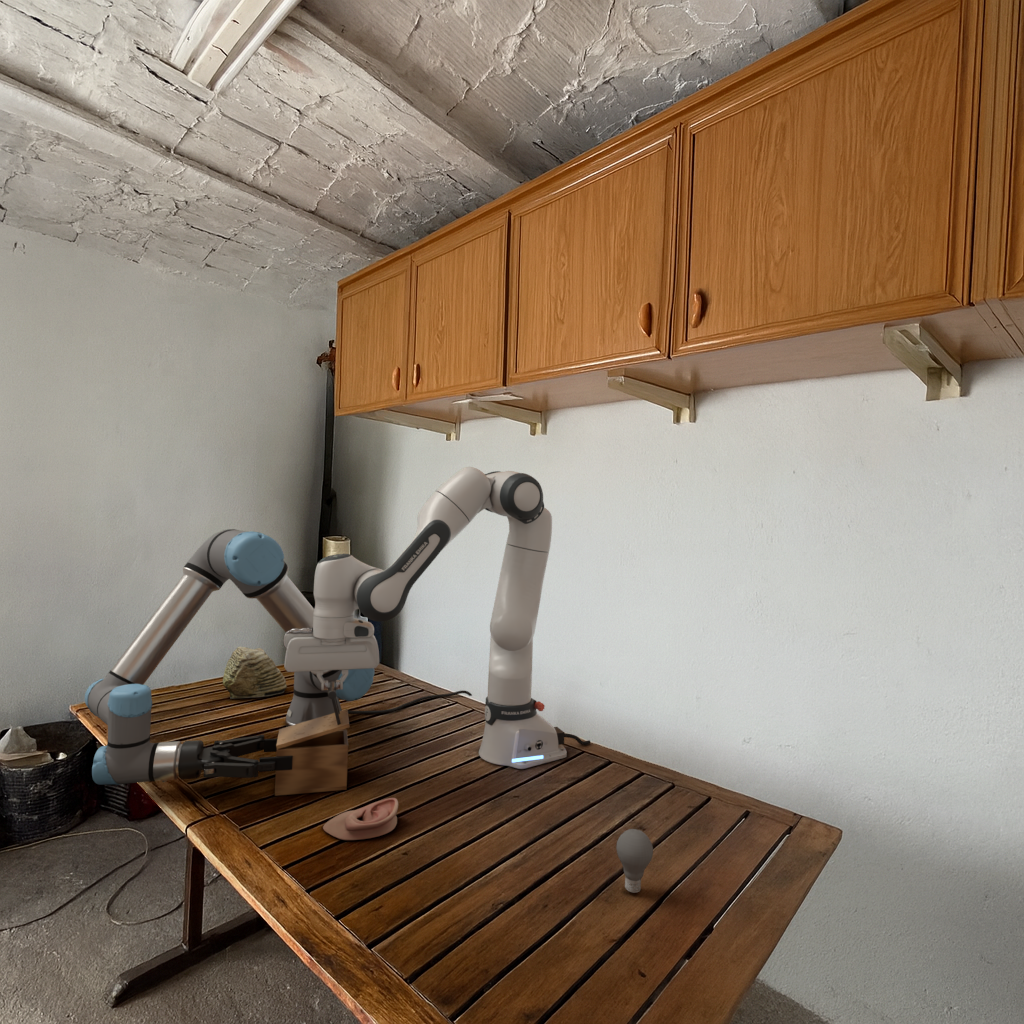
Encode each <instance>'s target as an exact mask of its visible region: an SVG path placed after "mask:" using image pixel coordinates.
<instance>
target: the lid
mask: <svg viewBox="0 0 1024 1024" xmlns="http://www.w3.org/2000/svg"><path fill="white" fill-rule="evenodd" d="M328 697H329V698H330V699H332V703H333V708H334V712H335V713H333V714H329V715H326V716H322V717H319V718H316V719H312V720H309V721H306V722H302V723H299V724H295V725H292V726H289V727H287V726H286V727H282V728H279V729H278V735H277V738H278V739H277V744H276V747H277V749H280V748H283V747H287V746H290V745H293V744H296V743H300V742H303V741H306V740H310V739H313V738H316V737H319V736H323V735H326V734H329V733H333V732H336V731H339V730H345V729H349V728H350V717H349V714H348V711H349V710H348V708H347V709H346V708H345V709H342V711H339V706H338V702H337V698H336V683H335V682H333V681H332V682H329V684H328Z"/></svg>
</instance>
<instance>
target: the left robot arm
mask: <svg viewBox="0 0 1024 1024" xmlns="http://www.w3.org/2000/svg"><path fill="white" fill-rule="evenodd" d="M182 572H183V574H182V576H181V577H180V579H178V581H177V583H176V584H175V585H174V587H173V588H172V589H171V590H170V592H169V593H168V594H167V596H166V597H165V598H164V600H163V601H162V602H161V603H160V605H159V606H158V607H157V609H156V610H155V611H154V613H153V614H152V615H151V616H150V618H149V619H148V620H147V622H146V623H145V624H144V626H143V627H142V628H141V630H140V631H139V632H138V633H137V635H136V636H135V637H134V639H133V640H132V641H131V643H130V644H129V645H128V647H127V648H126V649H125V651H124V652H123V653H122V654H121V655H120V657H119V659H118V660H117V661H116V663H115V664H114V665H113V666H112V668H111V669H110V670H109V671H108V673H107V674H106V675H105V676H104V677H103V678H100V679H98V680H95V681H94V682H92V683H91V684H90V685H89V686H88V688H87V689H86V691H85V694H84V703H85V706H86V707H87V709H88V710H89V711H90V713H91V714H93V716H95V717H97V718H98V719H100V720H101V721H102V722H103V723H104V724H105V725H106V726H107V743H106V745H102V746H100V747H99V748H98V749H97V750H96V751H95V754H94V757H93V759H92V760H93V761H92V762H93V763H92V767H91V776H92V780H93V782H94V783H95V784H97V785H101V786H102V785H103V786H104V785H105V786H107V785H109V786H110V785H116V786H120V785H125V784H137V783H148V782H150V783H153V782H162V783H167V782H168V781H175V780H177V779H178V778H179V779H180V780H194V779H199V777H200V776H201V775H202V771H203V778H205V779H206V778H216V777H217V778H240V779H241V778H244V779H252V778H258V777H259V773H263V772H264V773H265V772H276V771H279V770H292V761H293V756H278V757H276V756H266V757H265V756H263V757H259V759H254V758H247V757H243V756H245V755H250V754H254V753H258V752H262V751H263V753H274V752H275V753H276V751H277V747H276V744H277V739H278V737H276V738H265V734H259V735H252V736H247V737H239V738H232V739H226V740H225V739H224V740H215V741H214V743H213V746H209V747H205V746H204V745H205V744H204V741H203V740H201V739H199V740H185V741H184V742H183V743H182V742H181V741H180V740H178V741H162V742H161V741H160V742H151V726H152V725H151V724H152V723H151V722H152V707H153V698H152V689H151V687H150V686H149V685H146V682H147V681H148V679H149V678H150V677H151V675H152V674H153V673H154V671H155V670H156V669H157V668H158V666H159V665H160V663H161V662H162V661H163V659H164V658H165V657H166V655H167V654H168V652H170V650H171V648H173V646H174V644H175V643H176V642H177V640H178V639H179V637H180V636H181V635H182V633H183V632H184V631H185V629H187V627H188V625H189V624H190V622H191V621H192V620H193V619H194V618H195V616H196V614H197V613H198V612H199V611H200V609H201V608H202V607H203V605H204V604H205V602H206V601H207V600H208V599H209V597H210V596H211V595H212V593H213V592H217V591H220V590H221V588H222V587H223V586H224V584H226V582H227V581H229V580H230V581H231V582H232V583H233V584H234V585H235V587H236V588H237V589H238V590H239V591H240V592H241V593H242V594H243V596H244V597H245V598H247V599H256V600H257V601H258V602H259V604H260V605H261V606H262V607H263V608H264V609H265V610H266V611H267V613H268V614H269V615H270V617H272V619H273V620H274V621H275V622H276V623H277V624H278V625H279V626H280V628H281V629H282V630H283V632H284V633H286V632H288V631H290V630H291V629H293V628H298V629H303V628H313V612H314V609H315V607H313V606H312V605H311V603H310V602H309V601H308V600H307V598H306V596H304V594H303V593H302V592H301V591H300V589H299V588H298V587H297V586H296V585H295V583H294V582H293V581H292V580H291V578H290V577H289V575H288V574H289V565H288V564H287V563H286V562H285V553H284V551H283V548H282V546H281V545H280V544H279V542H277V540H276V539H274V538H273V537H271V536H270V535H267V534H265V533H262V532H260V531H249V530H239V529H235V528H227V529H223V530H220V531H217V532H215V533H213V534H212V535H210V536H209V537H208V538H207V539H206V540H205V541H203V542H202V544H201V545H200V546H199V547H198V548H197V549H196V550H195V552H194V553H193V555H191V557H190V558H189V559H188V561H187V562H186V563H185V564H184V566H183V567H182ZM290 633H291V632H290ZM312 635H313V633H312ZM293 673H294V674H293V695H292V696H293V697H292V699H291V702H290V704H289V708H288V709H287V713H286V715H285V726H286V727H289V726H292V725H295V724H299V723H302V722H306V721H309V720H312V719H316V718H319V717H322V716H326V715H329V714H333V713H335V712H334V708H333V703H332V699H330V698H329V697H328V690H321V682H320V681H319V679H318V677H317V671H303V672H293ZM342 675H343V674H342V670H325V671H323V675H322V677H323V679H324V680H325V681H326V680H328V684H329V682H332V681H333V682H335V683H336V680H340V678H341V677H342ZM374 677H375V668H369V669H348V675H347V677H346V679H345V680H344V682H343V689H340V690H336V698H337V702H338V706H339V711H343V709H342V706H341V702H340V700H341V701H346V702H353V701H354V702H355V701H357V700H359V699H361V698H362V697H363V696H365V695H366V693H368V692H369V690H370V689H371V688H372V685H373V683H374ZM460 694H465V695H467V696H469V697H472V696H473V694H472V693H471V691H467V690H458V691H453V692H451V693H442V694H441V693H439V694H432V695H426V696H421V697H418V698H416V699H413V700H411V701H408V702H406V703H403V704H401V705H398V706H396V707H392V708H388V709H381V710H380V709H379V710H348V715H377V714H387V713H392V712H396V711H400V710H401V709H404V708H405V707H409V706H411V705H413V704H415V703H418V702H422V701H424V700H431V699H438V698H447V697H453V696H456V695H460Z"/></svg>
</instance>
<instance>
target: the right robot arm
mask: <svg viewBox="0 0 1024 1024" xmlns="http://www.w3.org/2000/svg"><path fill="white" fill-rule="evenodd" d="M484 510H485V511H487V512H490V513H493V514H496V515H499V516H502V517H506V518H507V520H508V521H507V522H508V531H509V532H508V533H507V538H506V543H505V548H504V552H503V557H502V562H501V567H500V573H499V577H498V583H497V588H496V593H495V597H494V602H493V607H492V612H491V617H490V621H489V622H490V623H489V633H490V638H489V639H490V641H489V658H488V675H487V676H488V677H487V695H486V697H485V706H484V722H485V723H484V730H483V735H482V739H481V743H480V747H479V749H478V756H479V757H480V758H481V759H482V760H484V761H485V762H488V763H490V764H494V765H499V766H506V767H511V768H515V769H518V770H524V769H525V770H526V769H529V768H532V767H535V766H540V765H544V764H547V763H551V762H554V761H558V760H561V759H565V758H567V757H568V752H567V748H566V747H565V746H564V744H565V738H569V739H573V740H575V741H576V742H577V743H578V744H579V745H581V746H588V745H591V744H592V743H591V740H590V739H589V740H588V739H587V740H582V739H581V738H580V737H579V736H578V735H575V734H572V733H565V731H563V730H562V729H560V728H559V727H558V726H553V724H551V723H550V722H549V721H548V720H546V718H544V717H543V716H541V715H540V714H539V713H538V712H543V711H544V710H545V707H546V706H545V704H544V703H543V702H541V701H537V700H536V699H534V698H532V684H533V654H534V653H533V651H534V636H535V632H536V627H537V622H538V615H539V610H540V603H541V598H542V591H543V585H544V580H545V575H546V571H547V566H548V565H547V564H548V559H549V555H550V550H551V545H552V544H551V543H552V537H553V535H552V534H553V516H552V513H551V511H549V509H547V508H546V507H545V503H544V492H543V488H542V486H541V483H540V482H539V481H538V480H537V479H536V478H535V477H533V476H532V475H530V474H527V473H524V472H518V471H513V470H505V471H500V470H497V471H496V470H495V471H491V472H488V473H484V472H483V471H481V470H480V469H478V468H476V467H473V466H466V467H463V468H461V469H459V470H458V471H457V472H455V473H454V474H453V475H451V476H450V477H448V479H446V480H445V481H444V482H443V483H442V484H440V486H438V488H437V489H436V490H435V491H433V493H432V494H431V495H430V496H429V497H428V498H427V500H426V501H425V502H424V504H423V505H422V507H421V508H420V510H419V511H418V514H417V527H416V533H415V535H414V537H413V539H412V540H411V541H410V543H409V544H408V545H407V546H406V547H405V549H404V550H402V552H401V553H400V554H399V555H398V556H397V558H396V559H395V560H394V561H393V562H392V563H391V565H389V567H387V568H386V569H382V568H379V567H375V566H371V565H370V564H367V563H365V562H363V561H361V560H359V559H358V558H356V557H354V555H352V553H351V554H350V553H337V554H331V555H328V556H325V557H322V559H320V560H319V561H318V562H317V565H316V567H315V571H314V580H313V598H314V612H313V628H303V629H298V628H293V629H291V630H290V631H288V632H284V635H283V646H284V648H285V649H286V650H285V656H284V664H283V665H284V667H283V668H284V669H285V671H286V672H287V673H294V672H303V671H317V677H318V679H319V681H320V682H321V690H328V680H326V681H325V680H324V679H323V677H322V675H323V671H325V670H342V674H343V675H342V677H341V678H340V680H336V690H340V689H343V682H344V680H345V679H346V677H347V675H348V669H369V668H374V669H377V667H378V666H379V665H380V651H379V645H378V640H377V638H376V636H375V635H374V634H375V627H374V624H372V622H370V621H374V622H378V623H379V622H380V623H381V622H387V621H390V620H392V619H394V618H396V617H397V616H398V615H399V614H400V613H401V612H402V610H403V609H404V607H405V604H406V602H407V600H408V597H409V593H410V592H411V589H412V588H413V586H414V584H415V583H416V582H417V581H418V580H419V578H420V577H421V576H422V575H423V574H424V572H425V571H426V570H427V569H428V567H430V566H431V564H432V563H433V561H434V560H435V559H436V558H437V557H438V556H439V554H440V553H441V552H442V551H443V550H444V549H445V548H446V547H447V546H448V545H449V544H450V543H452V541H453V540H454V539H455V538H457V536H459V534H460V533H462V531H463V530H464V529H466V528H467V526H468V525H470V523H471V522H472V521H473V520H474V519H475V517H476V516H477V515H478V514H479V513H480V512H482V511H484ZM356 610H359V611H360V613H361V614H362V615H363V616H364V617H365V618H367V619H368V620H370V621H367V620H364V619H360V618H357V617H355V611H356ZM290 632H291V633H290ZM312 633H313V635H312ZM537 711H538V712H537Z"/></svg>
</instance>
